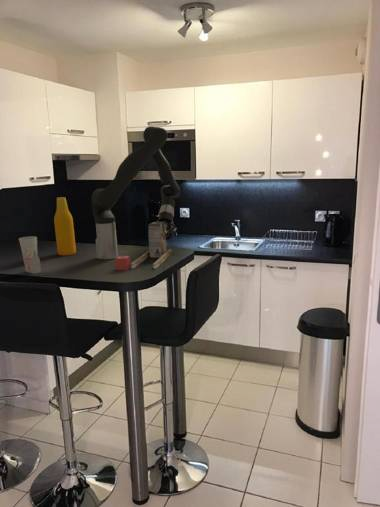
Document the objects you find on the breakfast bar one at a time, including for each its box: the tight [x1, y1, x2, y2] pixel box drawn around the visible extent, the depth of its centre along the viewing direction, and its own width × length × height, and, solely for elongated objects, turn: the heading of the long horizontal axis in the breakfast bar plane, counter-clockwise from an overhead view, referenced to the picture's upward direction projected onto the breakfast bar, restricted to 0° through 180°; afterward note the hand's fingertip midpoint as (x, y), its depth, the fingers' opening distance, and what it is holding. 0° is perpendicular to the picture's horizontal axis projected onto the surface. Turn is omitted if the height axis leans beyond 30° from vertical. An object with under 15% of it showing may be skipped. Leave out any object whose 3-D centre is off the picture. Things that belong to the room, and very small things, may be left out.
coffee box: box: [147, 221, 168, 258], centre depth 199 cm, size 9×6×16 cm
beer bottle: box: [53, 196, 77, 257], centre depth 210 cm, size 9×9×29 cm
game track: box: [130, 248, 173, 270], centre depth 191 cm, size 11×30×2 cm, turn 169°
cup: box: [18, 235, 38, 260], centre depth 196 cm, size 8×8×12 cm
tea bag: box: [23, 249, 42, 275], centre depth 179 cm, size 4×7×10 cm, turn 50°
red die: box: [114, 255, 132, 271], centre depth 178 cm, size 5×5×5 cm
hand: (161, 242), depth 207 cm, fingers closed
